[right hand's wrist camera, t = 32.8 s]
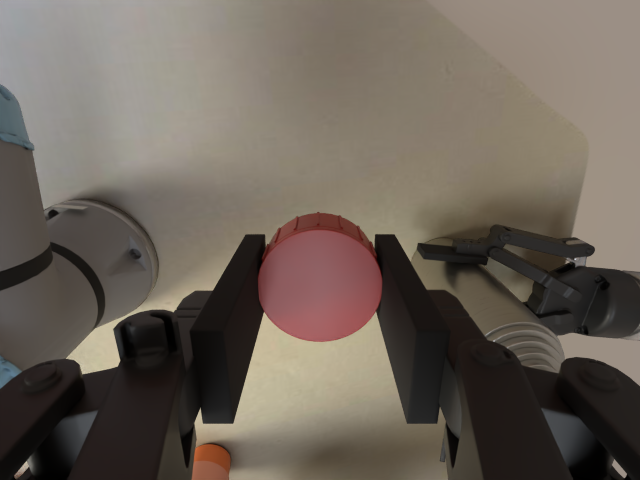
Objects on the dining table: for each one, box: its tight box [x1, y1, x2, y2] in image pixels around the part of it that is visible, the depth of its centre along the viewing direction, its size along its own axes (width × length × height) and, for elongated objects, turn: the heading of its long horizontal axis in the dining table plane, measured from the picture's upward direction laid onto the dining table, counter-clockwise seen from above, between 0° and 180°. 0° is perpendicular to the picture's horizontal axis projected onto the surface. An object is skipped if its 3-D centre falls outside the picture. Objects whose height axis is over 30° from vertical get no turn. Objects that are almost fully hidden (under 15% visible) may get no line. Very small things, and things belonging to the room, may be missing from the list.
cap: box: [258, 212, 382, 342], centre depth 14 cm, size 4×4×2 cm
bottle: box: [411, 238, 565, 373], centre depth 34 cm, size 7×7×24 cm
